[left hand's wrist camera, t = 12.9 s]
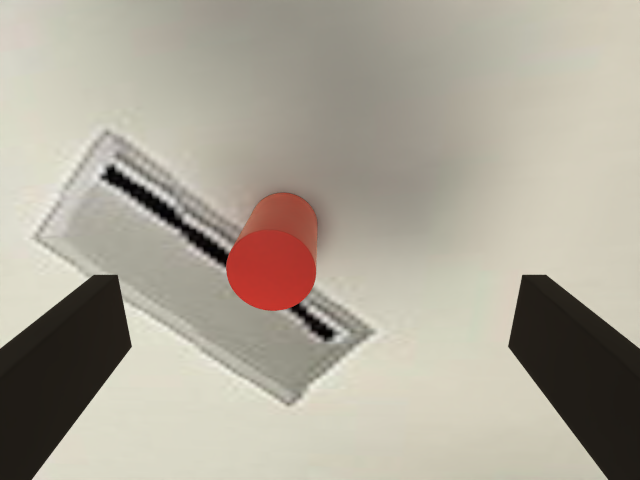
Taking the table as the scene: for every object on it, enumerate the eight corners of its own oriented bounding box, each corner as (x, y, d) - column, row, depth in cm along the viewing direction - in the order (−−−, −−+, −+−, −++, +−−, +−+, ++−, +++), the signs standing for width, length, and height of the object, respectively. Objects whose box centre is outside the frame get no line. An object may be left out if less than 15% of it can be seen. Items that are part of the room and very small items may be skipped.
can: (255, 186, 30) (231, 222, 22) (323, 199, 31) (324, 238, 23) (246, 249, 32) (221, 303, 24) (310, 260, 33) (307, 317, 25)
